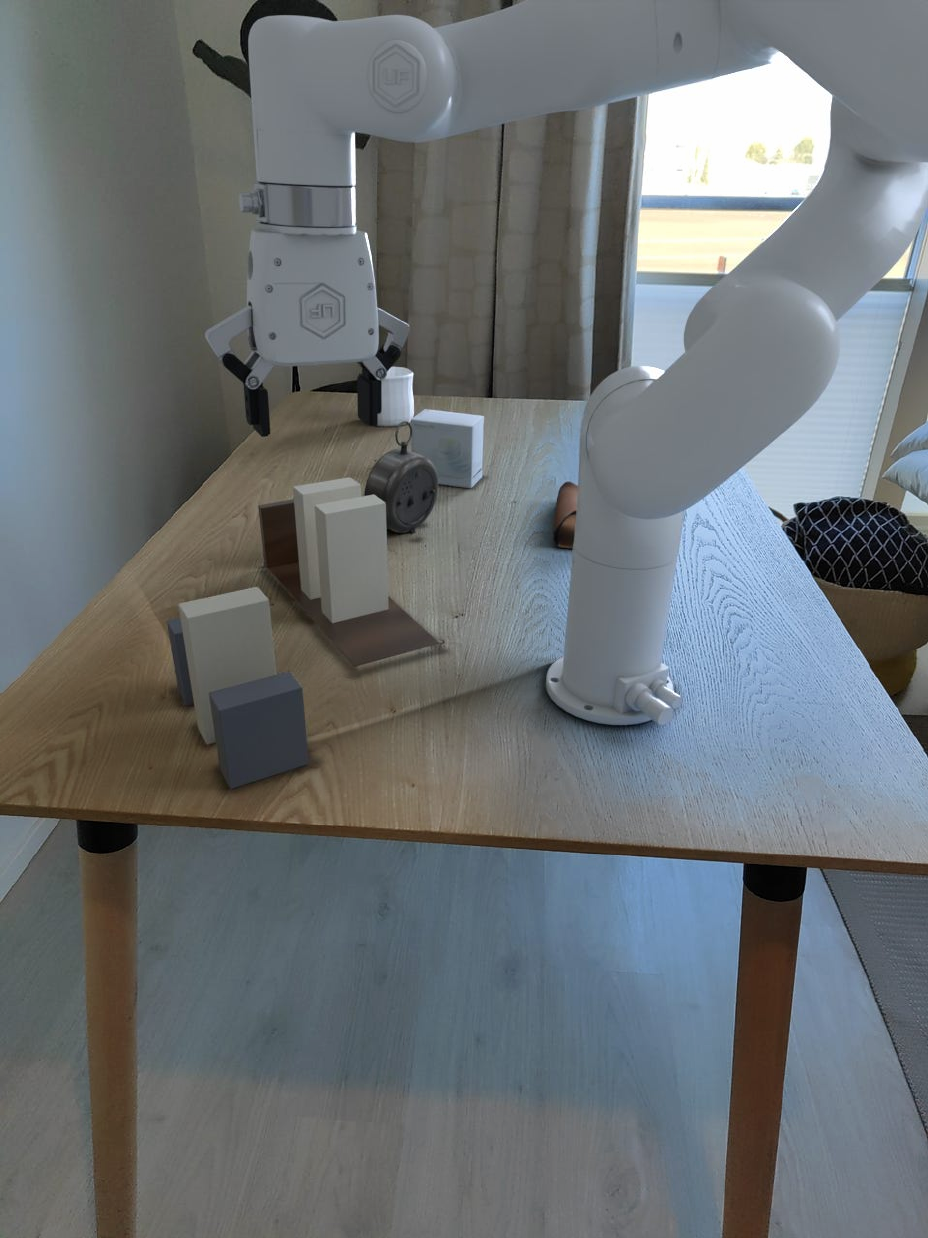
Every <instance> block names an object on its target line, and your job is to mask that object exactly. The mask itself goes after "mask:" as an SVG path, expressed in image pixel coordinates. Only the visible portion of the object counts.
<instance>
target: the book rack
mask: <svg viewBox="0 0 928 1238" xmlns="http://www.w3.org/2000/svg"><path fill="white" fill-rule="evenodd" d="M257 507H258V509H257V510H258V516H259V526H260V536H261V537H260V538H261V546H262V556H263V565H264V567H265V568H266V569H267V570H268V571H269V572H270V573H271V575H273V577H274V578H275V579H276V580H277V581H278V582H279V584H281V586H282V587H284V589H285V590H286V591H287V592H288V594H289V595H290V596H291V597H292V598H293V599H294V601H296V603H297V604H298V605H299V606H300V607H301V608H302V609H303V610H304V612H306V614H307V615H308V616H309V617H310V618H311V620H312V621H313V622H314V623H315V624H316V625H317V626H318V627H319V628H320V629H321V630H322V632H323V633H324V634H325V635H326V636H327V637H328V639H330V641H331V642H332V643H333V644H334V645H335V646H336V647H337V649H338V650H339V651H340V652H341V653H342V654H343V655H344V657H346V659H347V661H349V662H350V663H351V664H352V666H353V667H358V666H363V665H366V664H370V663H373V662H378V661H381V660H384V659H387V658H391V657H395V656H399V655H403V654H406V653H410V652H413V651H417V650H420V649H424V648H428V647H431V646H436V645H438V644H440V641H439V640H438V639H436V638H435V637H434V636H433V634H432V633H430V632H428V630H427V629H426V628H425V627H423V626H422V625H421V624H420V623H419V622H418V621H417V620H415V619H414V618H413V617H412V616H411V615H410V614H409V613H408V612H406V610H405V609H403V608H402V607H401V606H400V605H399V604H397V602H396V601H394V600H393V598H392V597H390V596H389V595H388V607H389V609H388V610H384V611H380V612H376V613H372V614H368V615H364V616H360V617H356V618H352V619H348V620H344V621H340V622H336V623H331V622H330V621H329V619H328V618H327V617H326V616H325V615H324V614H323V613H322V607H321V597H320V598H316V599H312V600H310V599H309V598H308V597H307V596H306V594H305V593H304V592H303V591H302V590H301V581H300V569H299V556H298V544H297V531H296V519H295V507H294V498H292V499H287V500H280V501H275V502H269V503H263V504H258V506H257Z"/></svg>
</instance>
